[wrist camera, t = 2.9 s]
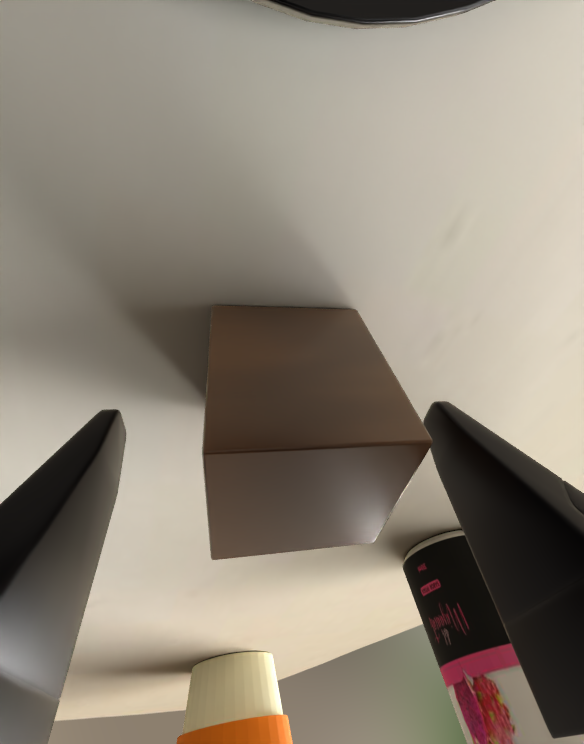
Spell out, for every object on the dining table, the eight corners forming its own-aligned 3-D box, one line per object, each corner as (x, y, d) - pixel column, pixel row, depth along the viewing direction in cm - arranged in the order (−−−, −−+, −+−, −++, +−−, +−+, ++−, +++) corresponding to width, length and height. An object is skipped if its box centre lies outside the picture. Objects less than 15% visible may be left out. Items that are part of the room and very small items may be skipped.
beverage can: (388, 550, 24) (539, 980, 12) (481, 516, 22) (747, 966, 11) (412, 574, 28) (542, 912, 16) (492, 546, 26) (694, 896, 15)
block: (357, 308, 11) (435, 442, 7) (330, 408, 13) (374, 543, 9) (211, 304, 10) (202, 453, 6) (215, 411, 12) (210, 561, 9)
